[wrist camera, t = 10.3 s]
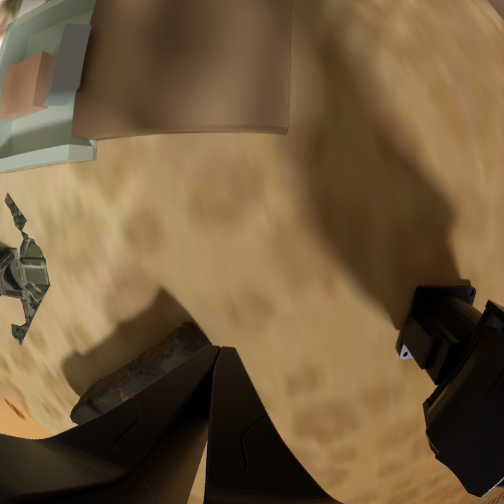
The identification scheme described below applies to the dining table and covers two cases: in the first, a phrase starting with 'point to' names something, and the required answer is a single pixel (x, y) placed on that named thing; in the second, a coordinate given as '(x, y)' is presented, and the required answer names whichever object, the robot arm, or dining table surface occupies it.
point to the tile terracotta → (25, 87)
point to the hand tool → (139, 373)
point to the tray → (55, 117)
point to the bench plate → (185, 68)
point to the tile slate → (66, 64)
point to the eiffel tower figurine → (23, 274)
